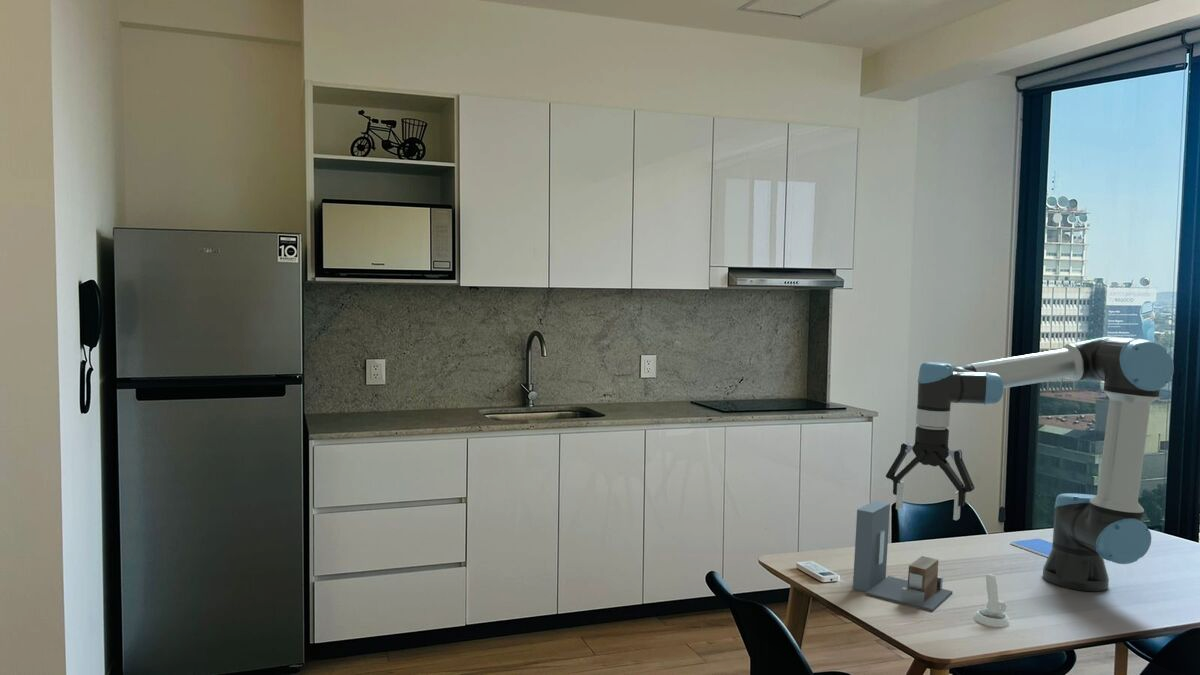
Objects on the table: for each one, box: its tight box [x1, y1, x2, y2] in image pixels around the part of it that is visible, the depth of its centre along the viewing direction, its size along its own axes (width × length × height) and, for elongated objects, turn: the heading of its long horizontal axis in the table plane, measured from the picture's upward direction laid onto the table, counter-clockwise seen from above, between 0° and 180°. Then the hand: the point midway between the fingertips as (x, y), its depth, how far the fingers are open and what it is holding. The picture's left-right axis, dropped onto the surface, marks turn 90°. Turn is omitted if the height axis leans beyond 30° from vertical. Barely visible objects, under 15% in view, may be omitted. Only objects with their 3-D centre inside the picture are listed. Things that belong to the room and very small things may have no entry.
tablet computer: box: [1009, 538, 1053, 559], centre depth 256 cm, size 19×13×1 cm, turn 23°
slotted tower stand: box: [852, 500, 953, 612], centre depth 217 cm, size 20×16×20 cm
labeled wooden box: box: [907, 555, 939, 602], centre depth 214 cm, size 4×11×8 cm, turn 143°
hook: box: [972, 573, 1011, 628], centre depth 203 cm, size 8×12×7 cm
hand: (927, 513), depth 213 cm, fingers open, 13 cm apart
